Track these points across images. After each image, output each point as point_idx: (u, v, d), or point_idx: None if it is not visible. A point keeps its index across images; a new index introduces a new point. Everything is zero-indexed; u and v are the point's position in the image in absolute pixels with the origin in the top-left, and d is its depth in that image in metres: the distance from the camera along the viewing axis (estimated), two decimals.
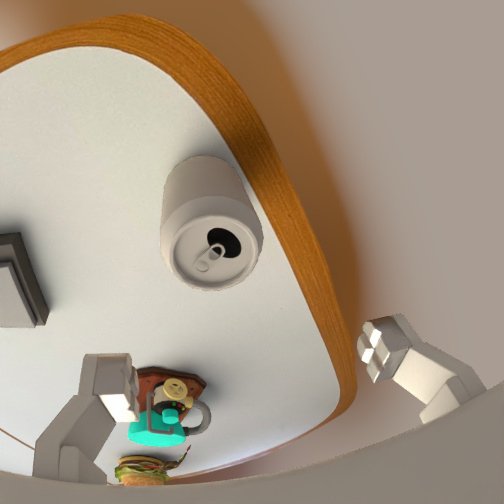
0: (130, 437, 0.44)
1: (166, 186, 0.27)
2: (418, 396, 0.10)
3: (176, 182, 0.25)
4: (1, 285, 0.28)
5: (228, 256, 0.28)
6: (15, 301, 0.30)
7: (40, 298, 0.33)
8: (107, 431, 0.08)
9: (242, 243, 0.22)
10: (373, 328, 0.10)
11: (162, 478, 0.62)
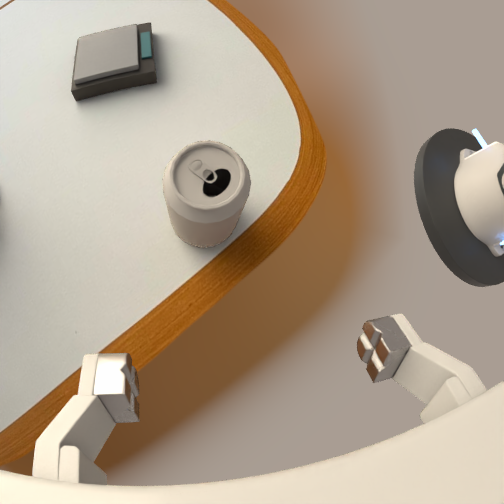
0: None
1: (213, 177, 0.35)
2: (418, 396, 0.10)
3: (228, 174, 0.32)
4: (120, 58, 0.35)
5: (173, 218, 0.29)
6: (103, 67, 0.35)
7: (94, 92, 0.37)
8: (107, 431, 0.08)
9: (218, 196, 0.25)
10: (373, 328, 0.10)
11: None
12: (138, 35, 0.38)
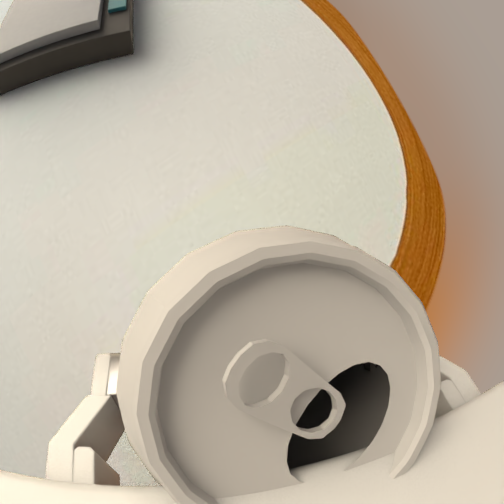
0: None
1: None
2: None
3: None
4: (68, 13, 0.15)
5: None
6: (37, 31, 0.15)
7: (21, 79, 0.17)
8: (119, 432, 0.08)
9: None
10: None
11: None
12: None
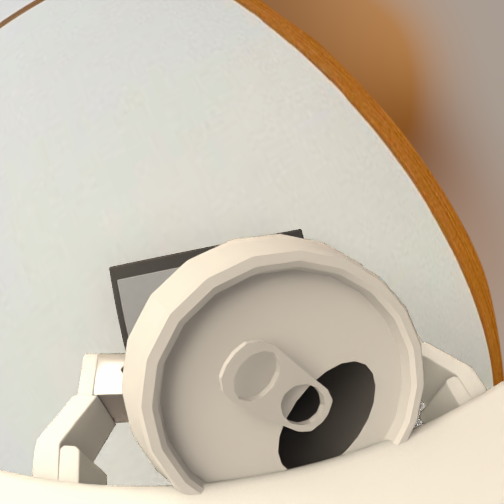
0: None
1: None
2: None
3: None
4: None
5: None
6: None
7: None
8: (107, 431, 0.08)
9: None
10: None
11: None
12: None
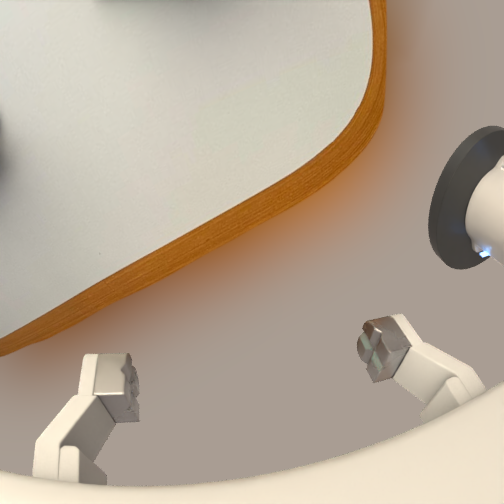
0: None
1: None
2: (418, 396, 0.10)
3: None
4: None
5: None
6: None
7: None
8: (107, 431, 0.08)
9: None
10: (373, 328, 0.10)
11: None
12: None
